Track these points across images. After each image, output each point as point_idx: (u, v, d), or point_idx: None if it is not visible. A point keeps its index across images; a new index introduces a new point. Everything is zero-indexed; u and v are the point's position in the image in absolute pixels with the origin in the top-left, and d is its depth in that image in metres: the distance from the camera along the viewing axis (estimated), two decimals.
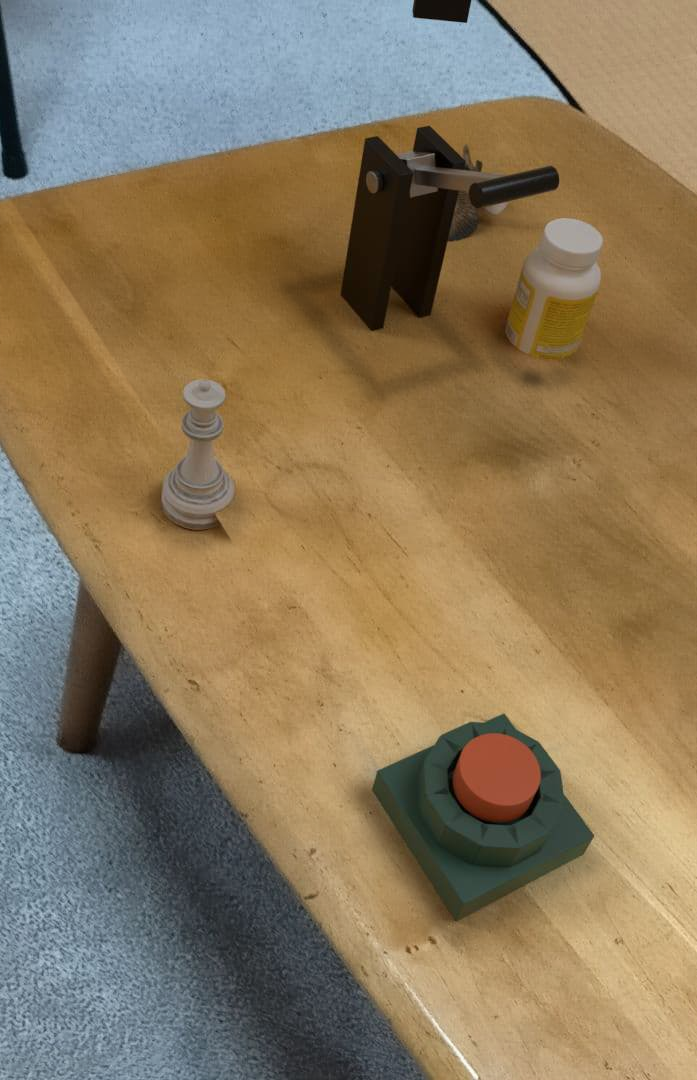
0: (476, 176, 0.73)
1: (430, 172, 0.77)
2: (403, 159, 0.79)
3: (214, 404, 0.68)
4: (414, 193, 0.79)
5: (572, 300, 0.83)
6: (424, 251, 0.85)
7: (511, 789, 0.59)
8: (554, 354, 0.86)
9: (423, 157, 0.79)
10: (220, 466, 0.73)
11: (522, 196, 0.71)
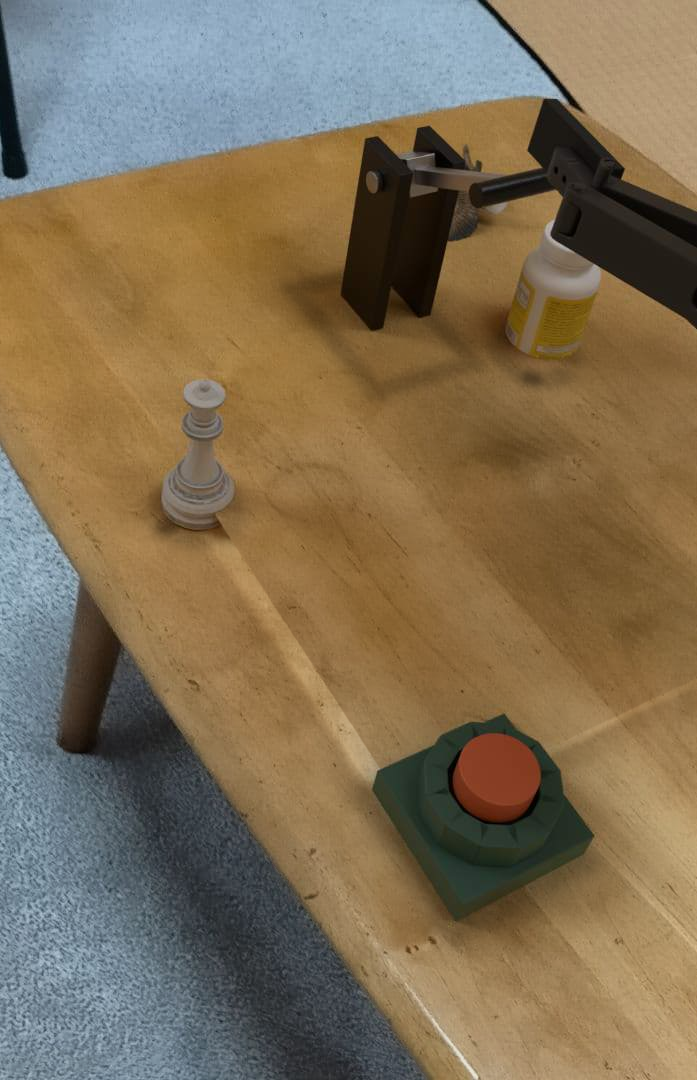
0: (476, 176, 0.73)
1: (430, 172, 0.77)
2: (403, 159, 0.79)
3: (214, 404, 0.68)
4: (414, 193, 0.79)
5: (572, 300, 0.83)
6: (424, 251, 0.85)
7: (511, 789, 0.59)
8: (554, 354, 0.86)
9: (423, 157, 0.79)
10: (220, 466, 0.73)
11: (522, 196, 0.71)
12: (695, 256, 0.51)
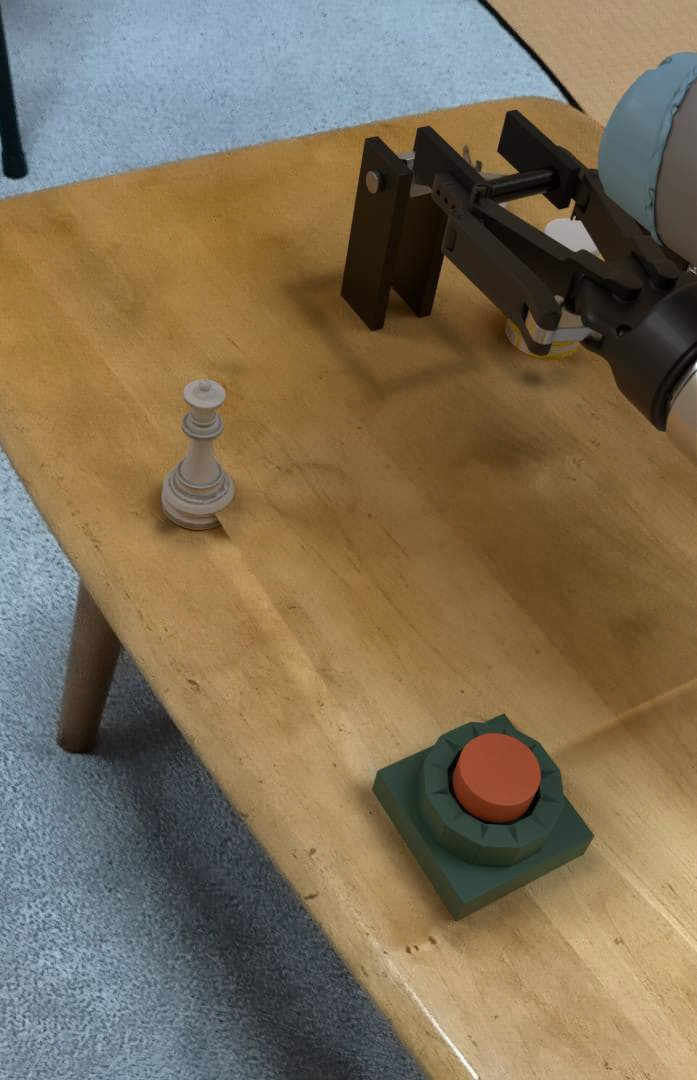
0: None
1: None
2: (403, 159, 0.79)
3: (214, 404, 0.68)
4: (414, 193, 0.79)
5: None
6: (424, 251, 0.85)
7: (511, 789, 0.59)
8: (554, 354, 0.86)
9: None
10: (220, 466, 0.73)
11: (522, 196, 0.71)
12: (525, 279, 0.64)
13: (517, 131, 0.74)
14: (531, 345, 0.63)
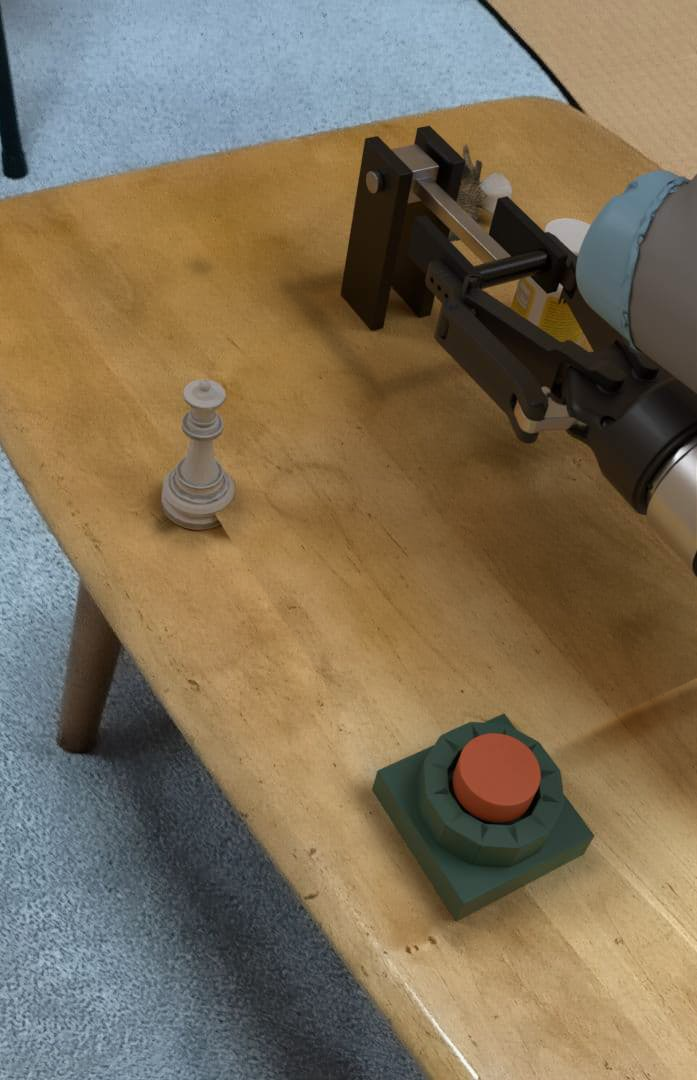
0: (474, 237, 0.75)
1: (431, 196, 0.78)
2: None
3: (214, 404, 0.68)
4: (410, 201, 0.80)
5: None
6: None
7: (511, 789, 0.59)
8: None
9: (427, 169, 0.79)
10: (220, 466, 0.73)
11: (512, 280, 0.75)
12: (514, 370, 0.67)
13: (508, 217, 0.77)
14: (519, 433, 0.67)
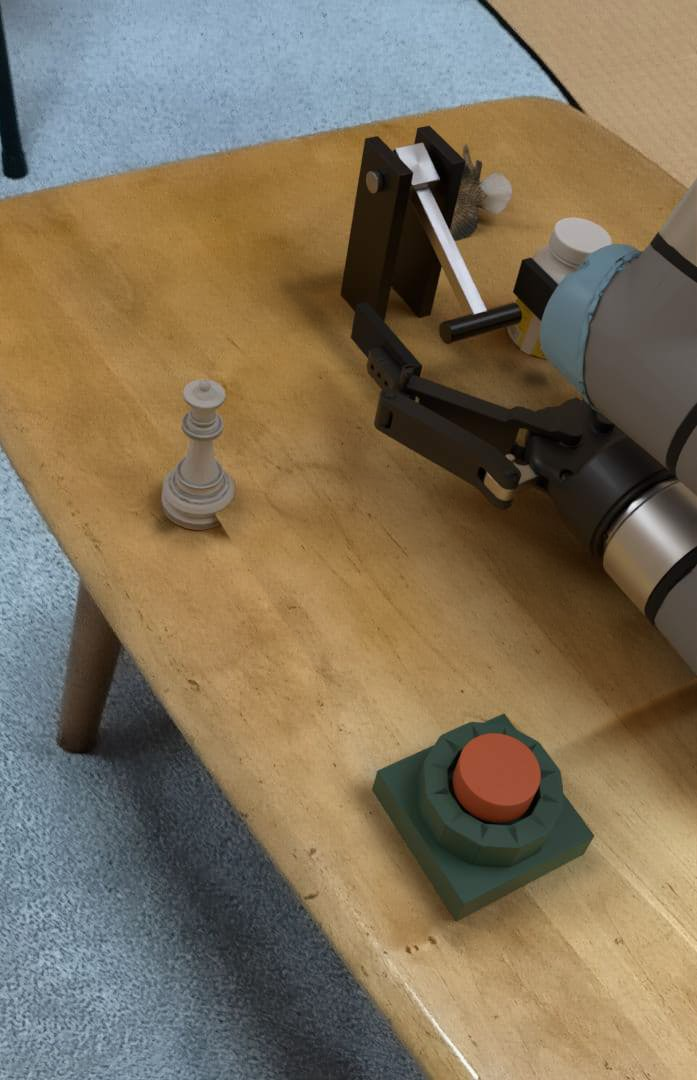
0: (458, 279, 0.78)
1: (426, 214, 0.79)
2: None
3: (214, 404, 0.68)
4: None
5: None
6: (424, 251, 0.85)
7: (511, 789, 0.59)
8: None
9: (428, 182, 0.79)
10: (220, 466, 0.73)
11: None
12: (475, 445, 0.70)
13: (532, 278, 0.82)
14: (497, 503, 0.70)
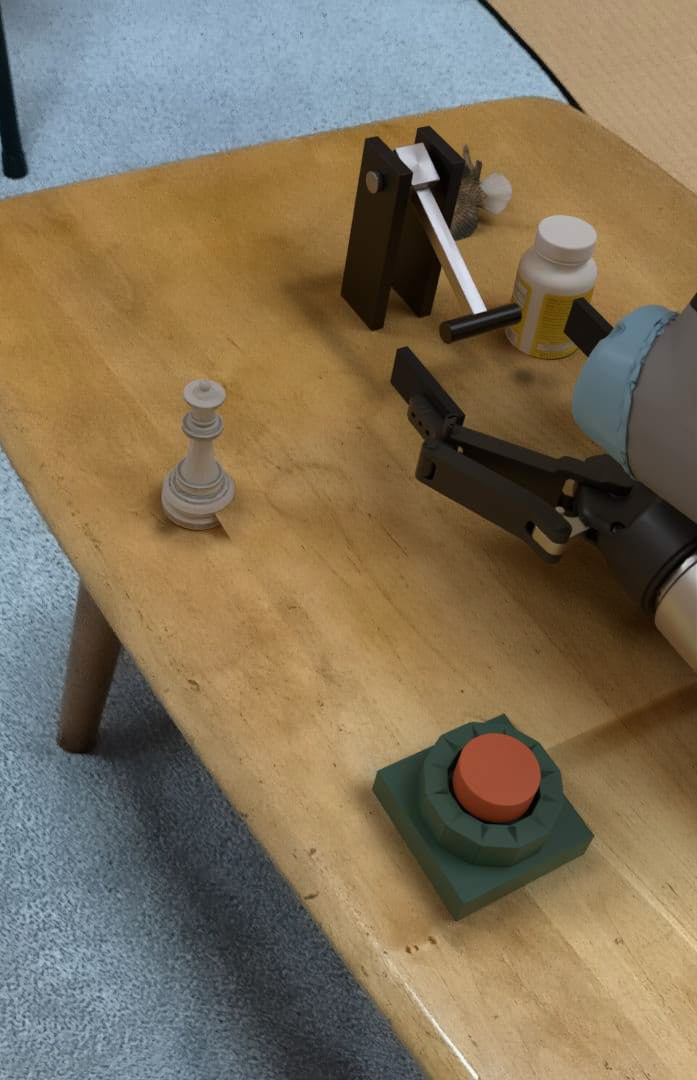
0: (458, 279, 0.78)
1: (426, 214, 0.79)
2: None
3: (214, 404, 0.68)
4: None
5: (569, 296, 0.83)
6: (424, 251, 0.85)
7: (511, 789, 0.59)
8: (555, 352, 0.86)
9: (428, 182, 0.79)
10: (220, 466, 0.73)
11: None
12: (523, 499, 0.68)
13: (584, 318, 0.80)
14: (546, 557, 0.68)
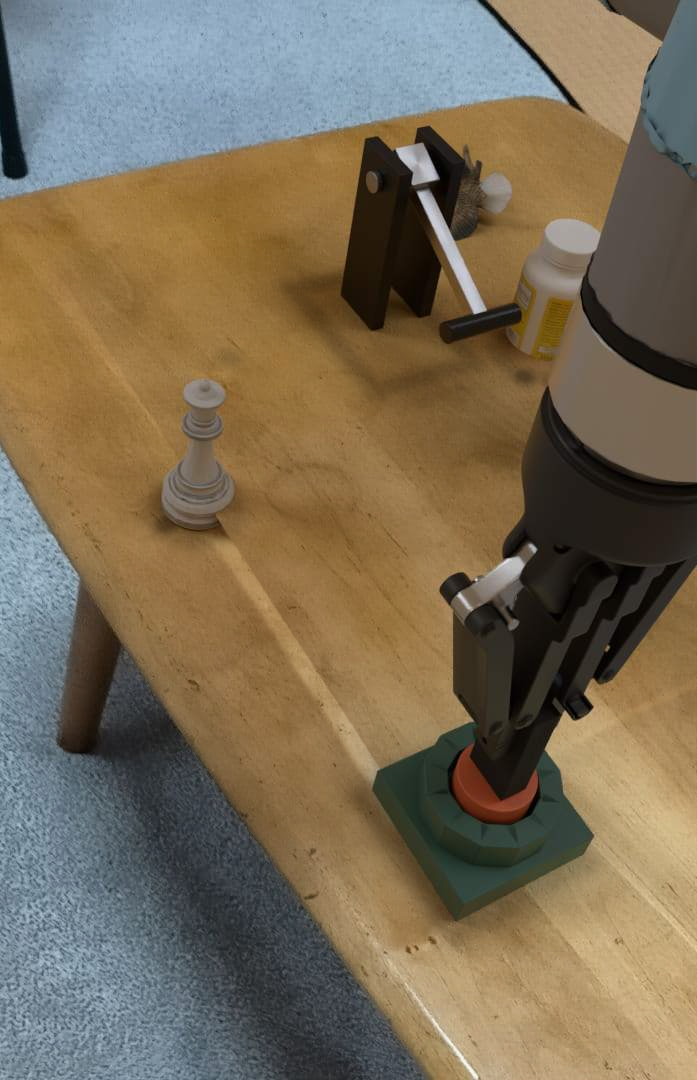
0: (458, 279, 0.78)
1: (426, 214, 0.79)
2: None
3: (214, 404, 0.68)
4: None
5: (573, 301, 0.83)
6: (424, 251, 0.85)
7: None
8: None
9: (428, 182, 0.79)
10: (220, 466, 0.73)
11: None
12: None
13: None
14: (470, 631, 0.45)
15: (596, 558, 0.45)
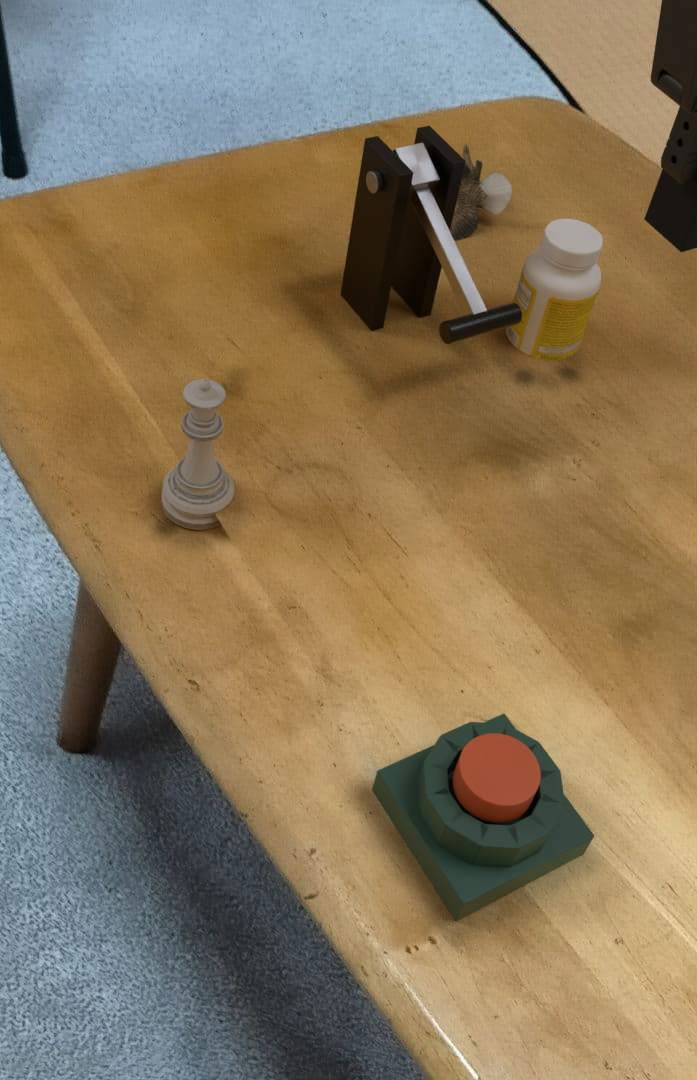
0: (458, 279, 0.78)
1: (426, 214, 0.79)
2: None
3: (214, 404, 0.68)
4: None
5: (573, 301, 0.83)
6: (424, 251, 0.85)
7: (511, 789, 0.59)
8: (556, 355, 0.86)
9: (428, 182, 0.79)
10: (220, 466, 0.73)
11: None
12: None
13: None
14: None
15: None
